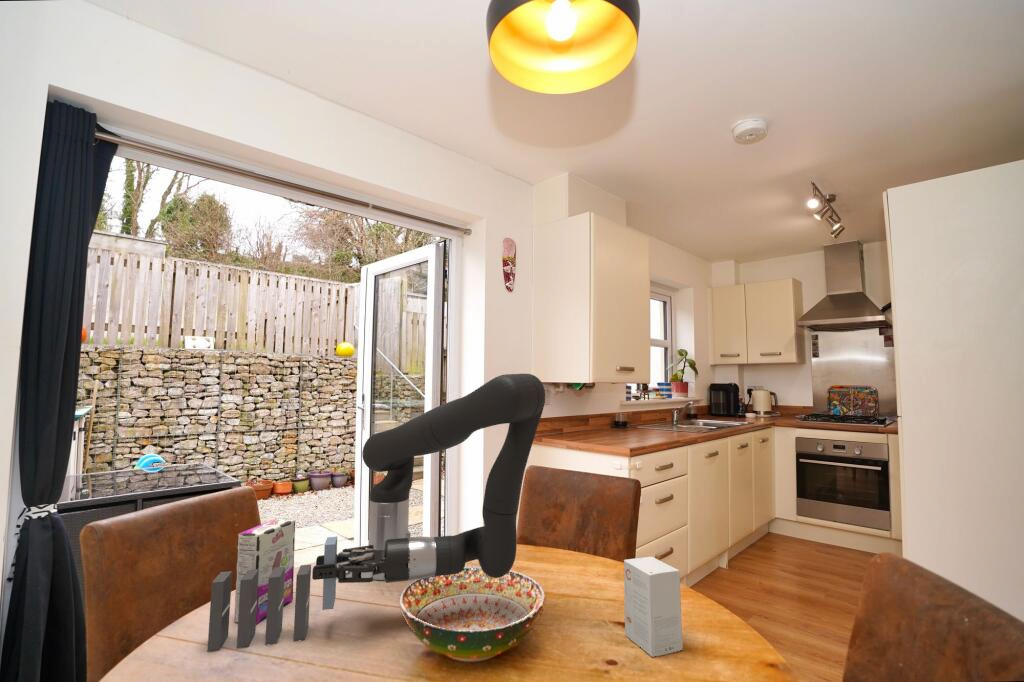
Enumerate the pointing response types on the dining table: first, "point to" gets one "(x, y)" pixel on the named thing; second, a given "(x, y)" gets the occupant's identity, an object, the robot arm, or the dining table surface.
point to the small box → (653, 605)
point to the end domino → (219, 611)
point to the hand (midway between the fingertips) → (315, 567)
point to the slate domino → (329, 583)
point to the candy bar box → (266, 559)
